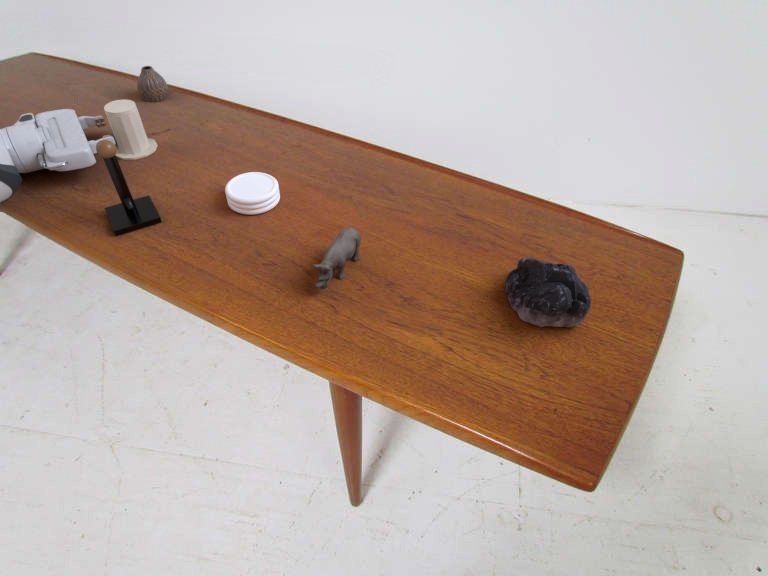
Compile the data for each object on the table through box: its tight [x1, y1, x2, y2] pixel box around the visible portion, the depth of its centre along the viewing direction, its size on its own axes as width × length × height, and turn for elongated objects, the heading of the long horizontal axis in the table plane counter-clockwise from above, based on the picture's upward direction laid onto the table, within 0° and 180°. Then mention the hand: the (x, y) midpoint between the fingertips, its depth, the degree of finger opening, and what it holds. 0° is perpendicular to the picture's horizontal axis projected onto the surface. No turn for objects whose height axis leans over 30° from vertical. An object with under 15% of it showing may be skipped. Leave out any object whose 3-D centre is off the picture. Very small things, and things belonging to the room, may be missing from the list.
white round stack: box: [224, 171, 281, 216], centre depth 95 cm, size 10×10×4 cm
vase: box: [136, 65, 170, 103], centre depth 121 cm, size 7×7×9 cm
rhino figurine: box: [312, 227, 362, 290], centre depth 81 cm, size 4×14×6 cm, turn 155°
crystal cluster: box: [503, 257, 592, 328], centre depth 76 cm, size 13×14×10 cm
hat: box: [103, 99, 159, 161], centre depth 105 cm, size 9×9×10 cm
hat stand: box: [96, 140, 163, 237], centre depth 86 cm, size 8×8×16 cm
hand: (109, 129), depth 103 cm, fingers open, 8 cm apart
